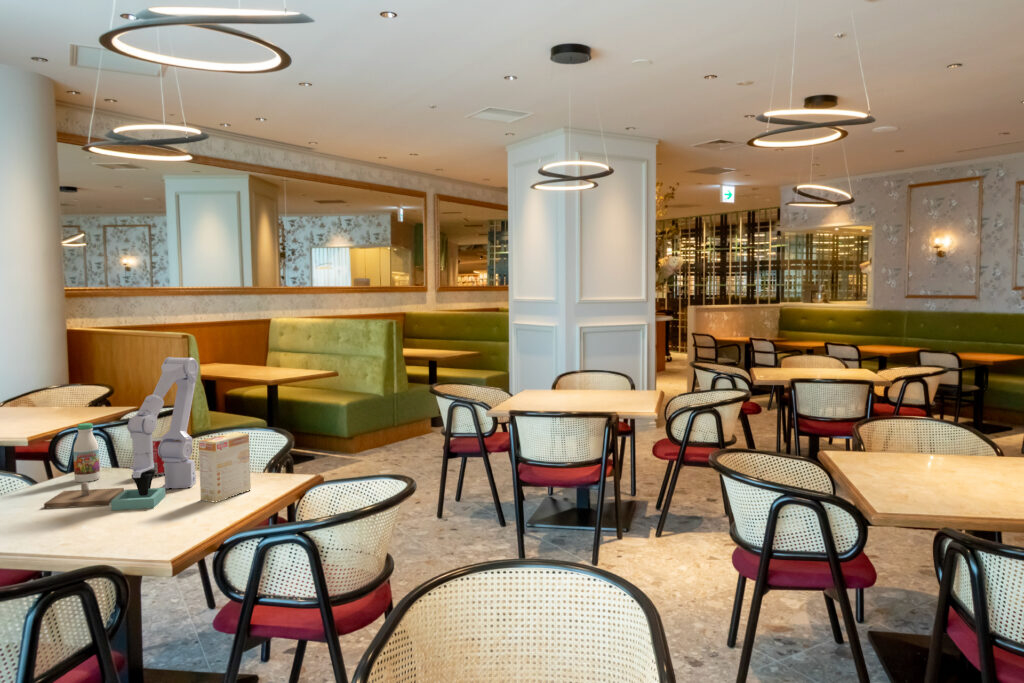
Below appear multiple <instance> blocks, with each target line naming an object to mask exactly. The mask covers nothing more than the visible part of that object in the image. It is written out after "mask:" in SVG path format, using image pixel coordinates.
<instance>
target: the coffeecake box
mask: <svg viewBox="0 0 1024 683" xmlns="http://www.w3.org/2000/svg"><path fill="white" fill-rule="evenodd" d="M198 460H199V461H198V464H199V485H200V487H199V490H200V501H203V500H207V501H206V502H209V501H214V502H216V501H219V500H222V499H224V500H226V499H225V498H227V499H229V498H228V497H230V498H232V497H231V496H233V495H236V494H239V493H242V492H245V491H247V490H250V489H251V484H252V483H251V464H250V462H251V461H250V460H251V459H250V434H249V433H247V432H246V433H245V432H240V431H233V432H228V433H225V434H221V435H216V436H212V437H209V438H204V439H201V440H200V439H199V440H198ZM251 490H252V489H251ZM245 493H246V492H245ZM242 494H243V493H242ZM239 495H240V494H239ZM236 496H237V495H236ZM233 497H234V496H233ZM222 501H223V500H222ZM214 502H213V503H214ZM219 502H220V501H219ZM216 503H217V502H216Z"/></svg>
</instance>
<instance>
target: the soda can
mask: <svg viewBox="0 0 1024 683" xmlns="http://www.w3.org/2000/svg"><path fill="white" fill-rule="evenodd" d="M161 440H162V436H159V437H152V441H153V461H154V468H153V469H150V470H156V472H155V474H154V475H161V476H165V475H164V461H162V458H160V456H159V455H158V446H159V444H160V443H161Z"/></svg>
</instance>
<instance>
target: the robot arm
mask: <svg viewBox="0 0 1024 683" xmlns="http://www.w3.org/2000/svg"><path fill="white" fill-rule="evenodd" d="M199 368H200V367H199V364H198V362H197V360H196V359H195V358H194V357H172V356H168V357H166V358H165V359H164V361H163V362H162V365H161V366H160V369H161V374H160V377H159V380H158V381H157V384H156V386H155V388H154V391H153V393H152V394H149V395H147V396H146V397H145V399H144V400H143V402H142V405H141V406H140V407H139V408H138V409H139V410H138V411H137V413H136V414H135V415H133V416H131V418H129V420H128V423H127V425H126V429H127V431H128V433H129V434H130V435H129V436H130V438H131V439H132V441H131V442H132V464H133V465H130V466H129V468H128V469H129V470H132V473H131V479H133V481H134V483H135V485H136V487H137V488H136V489H138V492H139V495H140V496H142V495H147V494H148V489H150V488H151V486H152V481H153V478H154V477H155V476H154V474H155V472H156V470H150V469H153V468H154V461H153V441H152V438H153V432H155V430H156V428H157V425H158V424H157V421H158V416H159V414H160V412H161V411H162V409H163V407H164V405H165V401H164V397H165V396H166V395H167V393H168V391H169V390H170V389H171V387H172V386H173V384H174V383H175V384H176V385H177V389H176V394H175V399H174V404H173V411H172V416H171V422H170V425H169V426H170V427H169V431H167V432H166V433H165V434H163V435H162V436H161V437H162V440H161V443H160V444H159V446H158V455H159V456H160V458H162V461H164V474H165V475H164V484H163V485H162V486H161V487H160V488H165V490H168V489H169V488H172V489H186V488H187V489H189V488H188V487H190V488H192V487H193V486H194V485H195V484H196V482H197V477H196V476H197V475H196V462H195V459H190V458H191V456H192V455H193V451H194V449H193V437H192V436H190V434H188V426H189V422H190V421H189V420H190V415H191V409H192V404H193V398H194V392H195V388H196V383H197V379H198V374H199Z"/></svg>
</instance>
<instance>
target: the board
mask: <svg viewBox="0 0 1024 683" xmlns="http://www.w3.org/2000/svg"><path fill="white" fill-rule="evenodd" d="M89 483H90V482H80V484H81V485H80V488H81V489H76V490H75V489H71V490H63V491H61V492H59V493H58V494H57V495H55V496H54V497H52V498H51V499H49V500H47V501H46V502H44V503H43V507H44V508H43V509H48V508H47V507H62V508H70V507H69V506H81V507H92V506H91V505H94V506H93V507H96V506H95V505H99V506H109V505H111V500H113V499H114V498H115V497H116V496H118V495H119V494H120V493H121V492H123V491H124V490H125V488H124V487H116V488H115V487H113V488H111V487H110V488H96V489H89V488H90V487H89V486H90V484H89ZM108 504H109V505H108Z"/></svg>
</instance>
